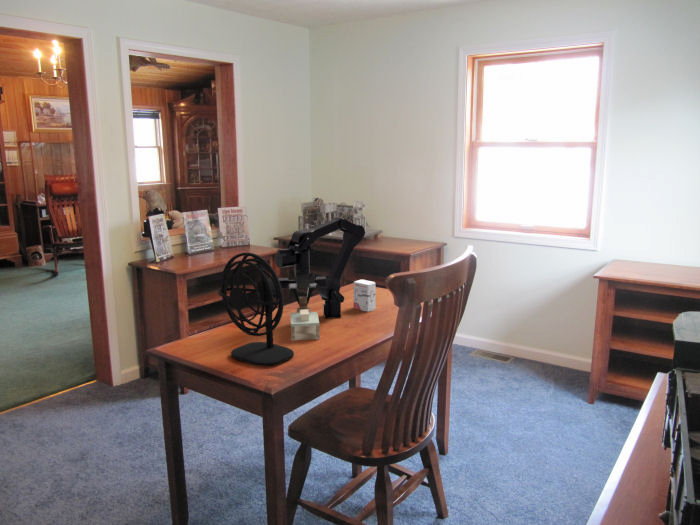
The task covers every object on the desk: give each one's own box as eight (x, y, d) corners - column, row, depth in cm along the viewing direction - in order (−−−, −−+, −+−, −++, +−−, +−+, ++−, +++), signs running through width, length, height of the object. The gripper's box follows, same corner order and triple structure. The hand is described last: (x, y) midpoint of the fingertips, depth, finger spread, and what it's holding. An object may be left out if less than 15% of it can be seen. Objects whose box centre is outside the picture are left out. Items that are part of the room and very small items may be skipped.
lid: (317, 314, 211) (316, 305, 211) (319, 325, 198) (319, 316, 197) (290, 315, 210) (290, 306, 209) (290, 326, 197) (290, 317, 196)
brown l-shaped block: (306, 305, 218) (306, 296, 217) (307, 311, 211) (307, 301, 211) (299, 306, 218) (298, 296, 217) (299, 311, 211) (299, 301, 210)
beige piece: (316, 321, 218) (316, 307, 217) (319, 339, 199) (319, 323, 198) (290, 323, 217) (290, 308, 216) (291, 340, 198) (290, 324, 197)
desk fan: (211, 356, 183) (204, 251, 176) (250, 341, 197) (245, 243, 190) (271, 375, 168) (266, 261, 161) (309, 357, 182) (306, 251, 174)
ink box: (352, 308, 236) (352, 281, 234) (360, 305, 240) (360, 279, 238) (368, 312, 231) (368, 284, 228) (376, 309, 234) (376, 282, 232)
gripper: (277, 269, 204) (278, 310, 207) (328, 267, 206) (329, 308, 210) (277, 263, 215) (278, 302, 218) (325, 261, 217) (326, 300, 220)
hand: (303, 303), depth 216 cm, fingers closed on brown l-shaped block, 3 cm apart
